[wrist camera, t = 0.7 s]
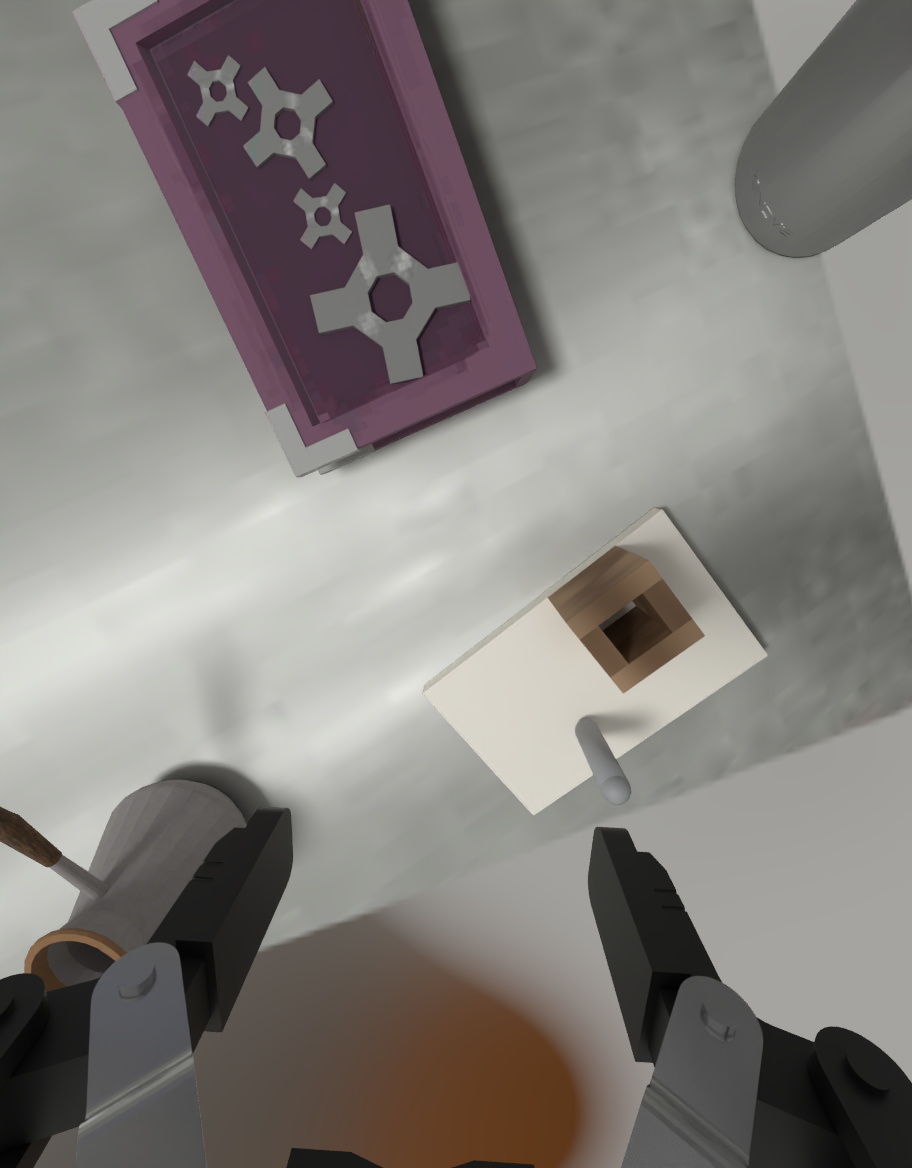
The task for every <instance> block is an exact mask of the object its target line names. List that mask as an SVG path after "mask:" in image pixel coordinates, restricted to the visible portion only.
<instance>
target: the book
mask: <svg viewBox="0 0 912 1168" xmlns="http://www.w3.org/2000/svg"><path fill="white" fill-rule="evenodd" d="M72 12H73V14H74V16H75V18H76V20H77V23H78V25H79V27H80V29H81V31H82V33H83V35H84V37H85V39H86V41H87V43H88V45H89V47H90V50H91V52H92V54H93V56H94V58H95V60H96V62H97V64H98V66H99V68H100V70H101V72H102V75H103V77H104V79H105V81H106V83H107V85H108V87H109V89H110V91H111V93H112V95H113V97H114V100H115V101H116V103H117V104H118V105H119V106H120V107H121V108H122V109H123V111H124V113H125V115H126V118H127V120H128V122H129V124H130V126H131V128H132V130H133V132H134V134H135V136H136V138H137V141H138V143H139V145H140V147H141V149H142V151H143V153H144V155H145V157H146V159H147V161H148V163H149V166H150V168H151V170H152V172H153V174H154V176H155V178H156V180H157V182H158V184H159V186H160V189H161V191H162V193H163V195H164V197H165V199H166V201H167V203H168V205H169V207H170V209H171V211H172V214H173V216H174V218H175V220H176V222H177V224H178V226H179V228H180V230H181V232H182V234H183V236H184V239H185V241H186V243H187V245H188V247H189V249H190V251H191V253H192V255H193V257H194V259H195V262H196V264H197V266H198V268H199V270H200V272H201V274H202V276H203V278H204V280H205V282H206V284H207V287H208V289H209V291H210V293H211V295H212V297H213V299H214V301H215V303H216V305H217V307H218V310H219V312H220V314H221V316H222V318H223V320H224V322H225V324H226V326H227V328H228V330H229V332H230V335H231V337H232V339H233V341H234V343H235V345H236V347H237V349H238V351H239V353H240V355H241V357H242V360H243V362H244V364H245V366H246V368H247V370H248V372H249V374H250V376H251V378H252V380H253V383H254V385H255V387H256V389H257V391H258V393H259V395H260V397H261V399H262V401H263V403H264V405H265V408H266V410H267V412H265V414H266V416H267V418H268V420H269V422H270V424H271V426H272V428H273V430H274V432H275V434H276V437H277V439H278V441H279V443H280V445H281V447H282V449H283V451H284V453H285V455H286V457H287V459H288V462H289V464H290V466H291V468H292V470H293V472H294V474H295V476H296V477H303V476H305V475H307V474H309V473H312V472H314V471H316V470H318V471H319V473H320V474H324V473H327V472H329V471H331V470H333V469H336V468H338V467H340V466H342V465H345V464H347V463H349V462H352V461H354V460H356V459H358V458H361V457H363V456H365V455H367V454H370V453H372V452H374V451H376V449H379V448H381V447H383V446H385V445H388V444H390V443H392V442H394V441H397V440H399V439H401V438H404V437H406V436H408V435H410V434H413V433H415V432H417V431H419V430H422V429H424V428H426V427H428V426H431V425H433V424H435V423H437V422H440V421H442V420H444V419H446V418H449V417H451V416H453V415H455V414H458V413H460V412H462V411H465V410H467V409H469V408H471V407H474V406H476V405H478V404H480V403H483V402H485V401H487V400H489V399H492V398H494V397H496V396H498V395H501V394H503V393H505V392H507V391H510V390H512V389H514V388H517V387H519V386H521V385H523V384H526V383H527V382H528V380H529V379H530V377H531V376H532V374H533V373H534V371H535V370H536V368H537V367H536V364H535V362H534V359H533V356H532V353H531V350H530V347H529V344H528V342H527V339H526V336H525V333H524V330H523V327H522V324H521V322H520V319H519V316H518V313H517V310H516V307H515V305H514V302H513V299H512V296H511V293H510V290H509V287H508V285H507V282H506V279H505V276H504V273H503V270H502V267H501V265H500V262H499V259H498V256H497V253H496V250H495V248H494V245H493V242H492V239H491V236H490V233H489V230H488V228H487V225H486V222H485V219H484V216H483V213H482V210H481V208H480V205H479V202H478V199H477V196H476V193H475V190H474V188H473V185H472V182H471V179H470V176H469V173H468V171H467V168H466V165H465V162H464V159H463V156H462V153H461V151H460V148H459V145H458V142H457V139H456V136H455V133H454V131H453V128H452V125H451V122H450V119H449V116H448V114H447V111H446V108H445V105H444V102H443V99H442V96H441V94H440V91H439V88H438V85H437V82H436V79H435V76H434V74H433V71H432V68H431V65H430V62H429V59H428V57H427V54H426V51H425V48H424V45H423V42H422V39H421V37H420V34H419V31H418V28H417V25H416V22H415V19H414V17H413V14H412V11H411V8H410V5H409V2H408V0H91V1H89V2H88V3H86V4H84V5H83V6H81V7H79V8H78V9H76V10H74V11H72Z"/></svg>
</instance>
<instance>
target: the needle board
mask: <svg viewBox="0 0 912 1168" xmlns="http://www.w3.org/2000/svg"><path fill="white" fill-rule="evenodd" d="M614 546H617V547H620V548H622V549H624V550H627V551H629V552H631V553H633V554H636V555H638V556H640V557H643V558H645V559H647V560H649V561H650V562H651V564H652V565H653V566H654V568H655V569H656V570H657V572H658V573H659V574H660V576H661V577H662V578H663V580H664V581H665V582H666V584H667V585H668V587H669V588H670V589H671V591H672V592H673V593H674V595H675V596H676V597H677V599H678V600H679V601H680V603H681V604H682V605H683V607H684V608H685V609H686V611H687V612H688V613H689V615H690V616H691V617H692V619H693V620H694V621H695V623H696V624H697V625H698V627H699V628H700V629H701V631H702V632H703V633H704V635H705V636H704V637H703V638H702V639H700V640H699V641H697V642H696V643H695V644H693V645H692V646H690V647H689V648H687V649H686V650H685V651H683V652H682V653H680V654H679V655H678V656H676V657H675V658H673V659H672V660H670V661H669V662H668V663H666V664H665V665H663V666H662V667H661V668H659V669H658V670H656V671H655V672H653V673H652V674H651V675H649V676H648V677H646V678H645V679H644V680H642V681H641V682H639V683H638V684H636V685H635V686H634V687H632V688H631V689H629V690H628V691H627V692H625V693H624V694H623V693H622V692H621V690H620V689H619V688H618V687H617V685H616V684H615V683H614V682H613V681H612V679H611V678H610V677H609V676H608V674H607V673H606V672H605V671H604V669H603V668H602V667H601V666H600V664H599V663H598V662H597V661H596V660H595V658H594V657H593V656H592V655H591V653H590V652H589V651H588V650H587V648H586V647H585V646H584V645H583V643H582V642H581V641H580V640H579V639H578V637H577V636H576V635H575V634H574V632H573V631H572V630H571V629H570V627H569V626H568V625H567V624H566V622H565V621H564V620H563V618H562V617H561V616H560V614H559V613H558V611H557V610H556V609H555V607H554V606H553V605H552V603H551V602H550V600H549V599H548V597H549V596H550V595H551V594H553V593H554V592H555V591H557V590H558V589H559V588H561V587H562V586H563V585H565V584H566V583H567V582H568V581H570V580H571V579H572V578H574V577H575V576H576V575H578V574H579V573H580V572H581V571H583V570H584V569H585V568H587V567H588V566H589V565H591V564H592V563H593V562H594V561H596V560H597V559H598V558H600V557H601V556H602V555H604V554H605V553H606V552H607V551H609V550H610V549H611V548H613V547H614ZM635 606H636V605H635V604H634V603H633V601H631V602H630V603H628V604H627V605H626V606H624V607H623V608H622V609H620V610H619V611H618V612H616V613H615V614H614V615H612V616H611V617H610V618H608V619H607V620H606V621H604V622H603V623H601V624H600V625H599V627H600V628H601V630H602V631H603V630H604V629H605V628H607V627H608V626H609V625H611V624H612V623H614V622H615V621H616V620H618V619H619V618H620V617H622V616H623V615H624V614H626V613H627V612H628V611H630V610H631V609H633V608H634V607H635ZM767 656H768V655H767V653H766V652H765V651H764V649H763V648H762V646H761V645H760V644H759V642H758V641H757V639H756V638H755V637H754V635H753V634H752V633H751V631H750V630H749V628H748V627H747V626H746V624H745V623H744V621H743V620H742V619H741V617H740V616H739V615H738V613H737V612H736V610H735V609H734V608H733V606H732V605H731V603H730V602H729V601H728V599H727V598H726V597H725V595H724V594H723V592H722V591H721V590H720V588H719V587H718V585H717V584H716V583H715V581H714V580H713V579H712V577H711V576H710V574H709V573H708V572H707V570H706V569H705V567H704V566H703V565H702V563H701V562H700V561H699V559H698V558H697V556H696V555H695V554H694V552H693V551H692V549H691V548H690V547H689V545H688V544H687V543H686V541H685V540H684V538H683V537H682V536H681V534H680V533H679V531H678V530H677V529H676V527H675V526H674V525H673V523H672V522H671V520H670V519H669V518H668V516H667V515H666V513H665V512H664V511H663V509H657V508H653V509H652V510H650V511H649V512H648V513H646V514H645V515H644V516H643V517H641V518H640V519H639V520H637V521H636V522H635V523H633V524H632V525H631V526H630V527H628V528H627V529H626V530H624V531H623V532H622V533H621V534H619V535H618V536H617V537H615V538H614V539H613V540H611V541H610V542H609V543H608V544H606V545H605V546H604V547H602V548H601V549H600V550H598V551H597V552H596V553H595V554H593V555H592V556H591V557H589V558H588V559H587V560H586V561H584V562H583V563H582V564H580V565H579V566H578V567H576V568H575V569H574V570H573V571H571V572H570V573H569V574H567V575H566V576H565V577H563V578H562V579H561V580H560V581H558V582H557V583H556V584H554V585H553V586H552V587H550V588H549V589H548V590H547V591H545V592H544V593H543V594H541V595H540V596H539V597H538V598H536V599H535V600H534V601H532V602H531V603H530V604H528V605H527V606H526V607H525V608H523V609H522V610H521V611H519V612H518V613H517V614H515V615H514V616H513V617H512V618H510V619H509V620H508V621H506V622H505V623H504V624H503V625H501V626H500V627H499V628H497V629H496V630H495V631H493V632H492V633H491V634H490V635H488V636H487V637H486V638H484V639H483V640H482V641H480V642H479V643H478V644H477V645H475V646H474V647H473V648H471V649H470V650H469V651H468V652H466V653H465V654H464V655H462V656H461V657H460V658H458V659H457V660H456V661H455V662H453V663H452V664H451V665H449V666H448V667H447V668H445V669H444V670H443V671H442V672H440V673H439V674H438V675H436V676H435V677H434V678H432V679H431V680H430V681H429V682H427V683H426V684H425V685H424V688H423V693H422V694H423V695H424V696H425V697H426V698H427V699H428V700H429V701H430V702H431V704H432V705H433V706H434V707H435V708H436V709H437V710H438V711H439V712H440V713H441V715H442V716H443V717H444V718H445V719H446V720H447V721H448V722H449V723H450V724H451V725H452V727H453V728H454V729H455V730H456V731H457V732H458V733H459V734H460V735H461V736H462V738H463V739H464V740H465V741H466V742H467V743H468V744H469V745H470V746H471V747H472V749H473V750H474V751H475V752H476V753H477V754H478V755H479V756H480V757H481V758H482V760H483V761H484V762H485V763H486V764H487V765H488V766H489V767H490V768H491V769H492V771H493V772H494V773H495V774H496V775H497V776H498V777H499V778H500V779H501V780H502V782H503V783H504V784H505V785H506V786H507V787H508V788H509V789H510V790H511V791H512V793H513V794H514V795H515V796H516V797H517V798H518V799H519V800H520V801H521V802H522V803H523V805H524V806H525V807H526V808H527V809H528V810H529V811H530V812H531V813H532V814H533V816H534V815H535V814H536V813H538V812H539V811H541V810H542V809H544V808H545V807H547V806H548V805H550V804H551V803H553V802H554V801H556V800H557V799H558V798H560V797H561V796H563V795H564V794H566V793H567V792H569V791H570V790H572V789H573V788H575V787H576V786H578V785H579V784H580V783H582V782H583V781H585V780H586V779H588V778H589V777H591V776H592V775H594V777H595V780H596V782H597V784H598V786H599V789H600V791H601V793H602V795H603V797H604V798H605V799H606V800H607V801H608V802H610V803H612V804H615V805H620V804H624V803H625V802H627V801H628V799H629V798H630V795H631V787H630V784H629V782H628V780H627V778H626V776H625V775H624V773H623V771H622V769H621V767H620V766H619V764H618V762H617V760H616V759H617V758H619V757H620V756H621V755H623V754H624V753H626V752H627V751H629V750H630V749H632V748H633V747H635V746H636V745H638V744H639V743H641V742H642V741H643V740H645V739H646V738H648V737H649V736H651V735H652V734H654V733H655V732H657V731H658V730H660V729H661V728H663V727H664V726H665V725H667V724H668V723H670V722H671V721H673V720H674V719H676V718H677V717H679V716H680V715H682V714H683V713H684V712H686V711H687V710H689V709H690V708H692V707H693V706H695V705H696V704H698V703H699V702H701V701H702V700H704V699H705V698H706V697H708V696H709V695H711V694H712V693H714V692H715V691H717V690H718V689H720V688H721V687H723V686H724V685H726V684H727V683H728V682H730V681H731V680H733V679H734V678H736V677H737V676H739V675H740V674H742V673H743V672H745V671H746V670H747V669H749V668H750V667H752V666H753V665H755V664H756V663H758V662H759V661H761V660H762V659H764V658H765V657H767Z"/></svg>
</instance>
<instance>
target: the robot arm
mask: <svg viewBox="0 0 912 1168" xmlns="http://www.w3.org/2000/svg"><path fill="white" fill-rule="evenodd" d="M735 192H736V201H737V205H738V210H739V214H740V216H741V218H742V220H743V222H744V224H745V227H746V228H747V230H748V231H749V232H750V234H751V235H752V236H753V237H754V239H755V240H756V241H758V242H759V243H760V244H761V245H763V246H764V247H765V248H766V249H768V250H771V251H773V252H775V253H777V254H780V255H785V256H791V257H803V256H812V255H815V254H818V253H821V252H825V251H827V250H829V249H830V248H832V247H834V246H836V245H837V244H839V243H841V242H843V241H844V240H846V239H848V238H849V237H851V236H852V235H854V234H856V233H857V232H859V231H861V230H862V229H864V228H865V227H867V226H869V225H870V224H872V223H873V222H875V221H876V220H878V219H880V218H881V217H883V216H885V215H886V214H888V213H889V212H891V211H893V210H895V209H897V208H898V207H900V206H901V205H903V204H904V203H906V202H908V201H909V200H911V199H912V0H856V2H855V3H854V4H853V5H852V6H851V8H850V9H849V10H848V11H847V12H846V14H845V15H844V16H843V17H842V19H841V20H840V21H839V22H838V23H837V25H836V26H835V27H834V28H833V30H832V31H831V32H830V33H829V34H828V36H827V37H826V38H825V39H824V40H823V42H822V43H821V44H820V46H818V48H817V49H816V50H815V51H814V52H813V54H812V55H811V56H810V57H809V58H808V59H807V61H806V62H805V63H804V64H803V65H802V66H801V68H800V69H799V70H798V71H797V73H796V74H795V75H794V76H793V78H792V79H791V80H790V81H789V82H788V84H787V85H786V86H785V87H784V88H783V90H782V91H781V92H780V93H779V95H778V96H777V97H776V98H775V99H774V101H773V102H772V103H771V104H770V106H769V107H768V108H767V109H766V110H765V112H764V113H763V114H762V116H761V117H760V118H759V119H758V121H757V122H756V123H755V124H754V126H753V127H752V129H751V131H750V133H749V135H748V136H747V138H746V140H745V142H744V145H743V147H742V150H741V153H740V156H739V159H738V164H737V170H736V177H735ZM292 863H293V846H292V826H291V812H290V809H288V808H275V807H259V808H258V809H257V810H256V812H255V813H254V815H253V816H252V818H251V819H250V821H249V823H248V824H247V826H246V827H245V828H236V827H234V828H233V829H232V830H231V831H229V832H228V833H227V834H226V835H225V836H223V837H222V838H221V839H220V840H218V841H217V842H216V843H215V844H214V846H213V847H212V849H211V850H210V852H209V853H208V855H207V856H206V858H205V859H204V861H203V864H202V865H200V866H199V868H198V869H197V871H196V872H195V874H194V875H193V877H192V880H191V881H189V883H188V884H187V885H186V887H185V888H184V890H183V891H182V893H181V894H180V896H179V897H178V899H177V900H176V902H175V903H174V904H173V906H172V907H171V909H170V910H169V912H168V913H167V915H166V916H165V918H164V919H163V921H162V922H161V924H160V925H159V926H158V928H157V929H156V931H155V932H154V934H153V935H152V937H151V938H150V940H149V941H148V942H147V944H146V945H143V946H140V947H138V948H135V949H134V950H132V951H130V952H128V953H126V954H125V955H123V956H122V957H121V958H119V959H118V960H117V961H116V962H114V963H113V964H112V965H111V966H110V967H109V968H108V969H107V970H106V972H105V973H104V974H103V975H102V977H100V978H97V979H94V980H91V981H87V982H83V983H79V984H75V985H71V986H68V987H64V988H60V989H56V990H52V991H48V992H46V990H45V985H44V982H43V980H42V978H40V977H39V976H38V975H35V974H30V973H23V974H16V975H12V976H9V977H6V978H3V979H1V980H0V1168H33V1167H34V1166H35V1164H36V1162H37V1160H38V1159H39V1157H40V1155H41V1154H42V1152H43V1150H44V1149H45V1147H46V1145H47V1143H48V1142H49V1140H50V1138H51V1137H52V1135H55V1134H58V1133H61V1132H64V1131H66V1130H69V1129H72V1128H75V1127H78V1126H80V1127H79V1133H78V1142H77V1159H76V1168H207V1163H206V1155H205V1147H204V1140H203V1132H202V1125H201V1117H200V1109H199V1101H198V1094H197V1087H196V1078H195V1071H194V1063H193V1057H192V1056H193V1053H194V1050H195V1049H196V1046H197V1044H198V1042H199V1040H200V1038H201V1035H202V1034H203V1032H204V1031H209V1032H222V1031H223V1029H224V1027H225V1024H226V1022H227V1020H228V1017H229V1015H230V1013H231V1011H232V1008H233V1006H234V1004H235V1002H236V999H237V997H238V995H239V993H240V990H241V988H242V986H243V983H244V981H245V979H246V976H247V974H248V972H249V970H250V967H251V965H252V963H253V961H254V958H255V956H256V954H257V952H258V949H259V947H260V945H261V943H262V940H263V938H264V936H265V934H266V931H267V929H268V927H269V924H270V922H271V920H272V918H273V915H274V913H275V911H276V909H277V906H278V904H279V902H280V900H281V897H282V895H283V893H284V890H285V888H286V886H287V883H288V881H289V877H290V874H291V869H292ZM588 889H589V897H590V902H591V906H592V909H593V913H594V917H595V920H596V924H597V927H598V931H599V934H600V938H601V941H602V945H603V949H604V952H605V956H606V959H607V963H608V966H609V970H610V973H611V977H612V980H613V984H614V987H615V991H616V995H617V998H618V1002H619V1005H620V1009H621V1012H622V1016H623V1019H624V1023H625V1027H626V1030H627V1033H628V1037H629V1041H630V1044H631V1048H632V1051H633V1055H634V1059H635V1061H636V1062H650V1063H653V1064H654V1067H655V1069H654V1072H653V1075H652V1079H651V1081H650V1084H649V1085H648V1086H647V1087H646V1090H645V1093H644V1096H643V1099H642V1102H641V1105H640V1108H639V1111H638V1115H637V1118H636V1121H635V1124H634V1127H633V1131H632V1134H631V1137H630V1140H629V1143H628V1147H627V1150H626V1153H625V1156H624V1159H623V1163H622V1166H621V1168H912V1083H911V1081H910V1080H909V1079H908V1077H907V1076H906V1075H905V1073H904V1072H903V1071H902V1070H901V1068H900V1067H899V1066H898V1065H897V1064H896V1063H895V1062H894V1061H893V1060H892V1059H891V1058H890V1057H889V1056H888V1055H887V1054H886V1053H884V1051H882V1050H881V1049H880V1048H879V1047H877V1046H876V1045H875V1044H873V1043H872V1042H870V1041H869V1040H867V1039H866V1038H864V1037H863V1036H861V1035H859V1034H857V1033H854V1032H853V1031H850V1030H847V1029H844V1028H840V1027H826V1028H823V1029H822V1030H820V1031H819V1032H818V1034H817V1036H816V1038H815V1042H812V1041H810V1040H807V1039H805V1038H802V1037H800V1036H797V1035H794V1034H792V1033H789V1032H787V1031H784V1030H782V1029H779V1028H777V1027H774V1026H772V1025H770V1024H768V1023H765V1022H764V1021H762V1020H760V1019H759V1018H757V1017H756V1016H755V1014H754V1013H753V1011H752V1010H751V1008H750V1007H749V1006H748V1004H747V1003H746V1002H745V1001H744V1000H743V999H742V998H741V997H740V996H739V995H738V994H737V993H736V992H735V991H733V990H732V989H731V988H730V987H728V986H727V985H725V984H723V983H722V981H721V980H720V978H719V976H718V974H717V972H716V970H715V968H714V966H713V964H712V962H711V960H710V958H709V956H708V954H707V952H706V950H705V948H704V946H703V944H702V942H701V940H700V938H699V936H698V934H697V931H696V929H695V927H694V926H693V923H692V921H691V919H690V917H689V915H688V913H687V912H685V908H684V905H683V903H682V901H681V899H680V897H679V895H677V894H676V889H675V887H674V885H673V883H672V881H671V879H670V877H669V875H668V873H667V871H666V870H665V868H664V867H663V866H662V865H661V864H660V863H659V862H658V861H657V860H656V859H655V858H654V857H653V856H652V855H651V854H650V853H648V852H637V850H636V848H635V846H634V843H633V841H632V839H631V837H630V835H629V832H628V831H627V830H626V829H624V828H609V827H596V828H595V830H594V836H593V843H592V851H591V858H590V865H589V873H588ZM287 1168H382V1167H380V1166H378V1165H376V1164H374V1163H372V1162H370V1161H368V1160H366V1159H364V1158H362V1157H360V1156H358V1155H356V1154H354V1153H352V1152H343V1151H329V1150H328V1151H327V1150H313V1149H300V1148H292V1149H291V1153H290V1157H289V1160H288V1164H287ZM453 1168H534V1165H531V1164H516V1163H502V1162H488V1161H471V1162H468V1163H465V1164H462V1165H459V1166H456V1167H453Z"/></svg>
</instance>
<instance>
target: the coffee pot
mask: <svg viewBox="0 0 912 1168" xmlns="http://www.w3.org/2000/svg"><path fill="white" fill-rule="evenodd" d="M246 826H247V824H246V822H245V820H244V817H243V815H242V813H241V812H240V810H239V809H238V808H237V807H236V805H235V804H234V803H233V802H232V800H231V799H230V798H229V797H228V796H227V795H225V794H224V793H223V792H222V791H220V790H219V789H216V788H214V787H212V786H210V785H207V784H203V783H198V782H193V781H189V780H165V781H162V782H158V783H154V784H151V785H148V786H145V787H142V788H140V789H139V790H137V791H135V792H134V793H132V794H130V795H129V796H127V797H125V798H124V799H123V800H122V801H121V803H120V804H119V805H118V806H117V807H116V808H115V809H114V811H113V812H112V814H111V816H110V819H109V821H108V823H107V826H106V828H105V831H104V833H103V836H102V838H101V841H100V843H99V846H98V848H97V851H96V853H95V856H94V858H93V861H92V863H91V866H90V868H89V871H86V870H85V869H83V868H82V867H80V866H79V865H77V864H75V863H74V862H72V861H71V860H69V859H68V858H66V857H65V856H63V855H62V853H61V852H60V851H59V850H58V849H57V848H56V847H55V846H54V845H52V844H51V843H50V842H49V841H48V840H47V839H46V838H44V837H43V836H42V835H41V834H40V833H39V832H38V831H36V830H35V829H34V828H33V827H32V826H31V825H30V824H28V823H27V822H26V821H25V820H24V819H23V818H22V817H20V816H19V815H18V814H15V813H13V812H10V811H8V810H6V809H4V808H2V807H0V842H2V843H4V844H6V845H8V846H9V847H11V848H13V849H15V850H17V851H18V852H20V853H22V854H24V855H26V856H27V857H29V858H31V859H33V860H35V861H36V862H38V863H40V864H42V865H43V866H45V867H50V868H51V869H52V870H54V871H55V872H56V873H58V874H59V875H60V876H62V877H63V878H64V879H66V880H67V881H68V882H70V883H71V884H72V885H74V886H75V887H76V888H78V889H79V890H80V893H79V896H78V899H77V901H76V904H75V906H74V909H73V911H72V914H71V916H70V919H69V921H68V923H67V924H65V925H64V926H63V927H62V928H60V929H59V930H56V931H52V932H50V933H49V934H47V935H45V936H43V937H41V938H40V939H38V940H37V941H36V942H35V944H34V945H33V946H32V947H31V948H30V950H29V952H28V954H27V957H26V959H25V970H24V972H25V973H30V974H35V975H38V976H39V977H40V978H42V980H43V982H44V985H45V990H46V992H48V991H52V990H56V989H60V988H64V987H68V986H71V985H75V984H79V983H83V982H87V981H91V980H94V979H97V978H100V977H102V975H103V974H104V973H105V972H106V970H107V969H108V968H109V967H110V966H111V965H112V964H113V963H114V962H116V961H117V960H118V959H119V958H121V957H122V956H123V955H125V954H126V953H128V952H130V951H132V950H134V949H135V948H138V947H140V946H143V945H146V944H147V942H148V941H149V940H150V938H151V937H152V935H153V934H154V932H155V931H156V929H157V928H158V926H159V925H160V924H161V922H162V921H163V919H164V918H165V916H166V915H167V913H168V912H169V910H170V909H171V907H172V906H173V904H174V903H175V902H176V900H177V899H178V897H179V896H180V894H181V893H182V891H183V890H184V888H185V887H186V885H187V884H188V883H189V881H191V880H192V877H193V875H194V874H195V872H196V871H197V869H198V868H199V866H200V865H202V864H203V861H204V859H205V858H206V856H207V855H208V853H209V852H210V850H211V849H212V847H213V846H214V844H215V843H216V842H217V841H218V840H220V839H221V838H222V837H223V836H225V835H226V834H227V833H228V832H229V831H231V830H232V829H233V828H234V827H236V828H245V827H246Z"/></svg>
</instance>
